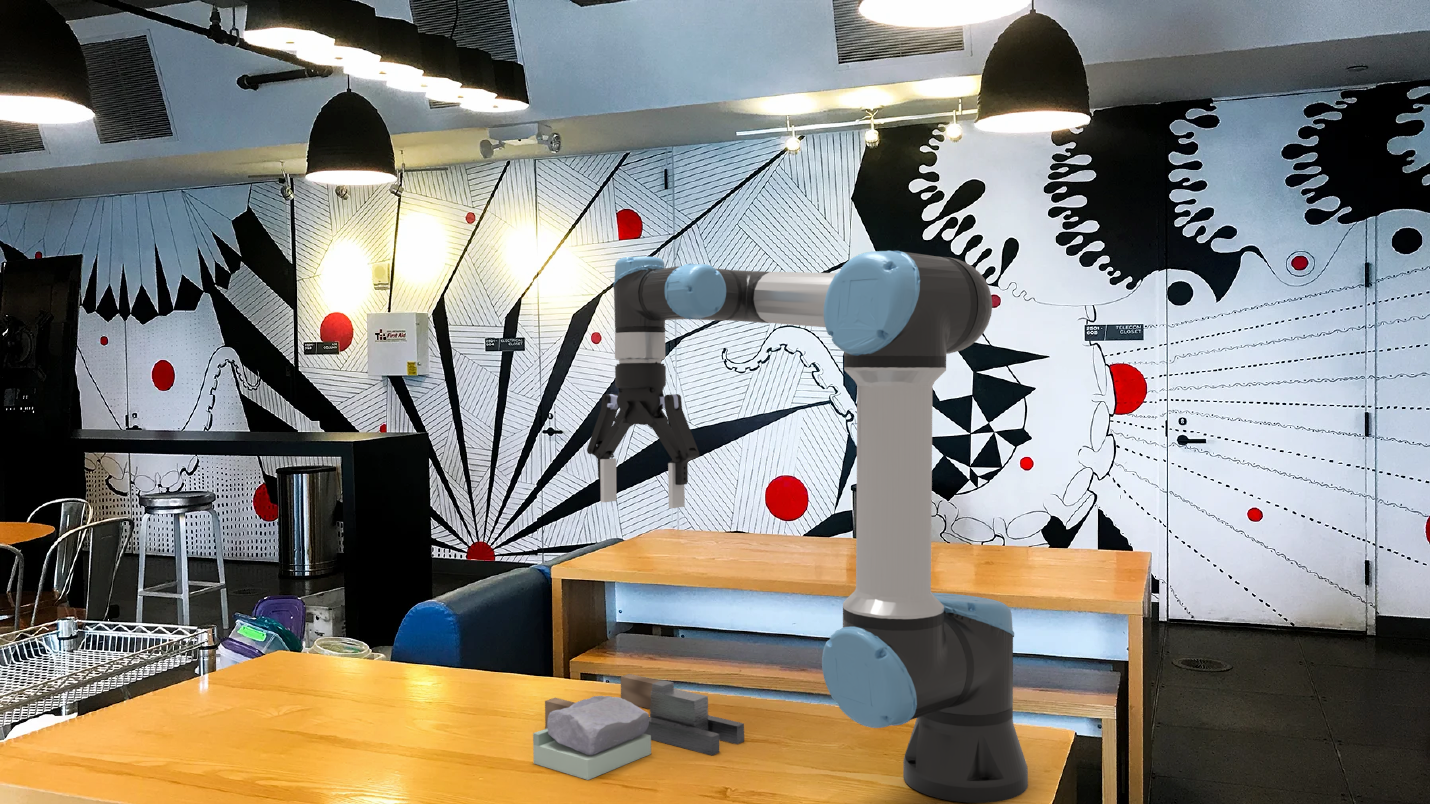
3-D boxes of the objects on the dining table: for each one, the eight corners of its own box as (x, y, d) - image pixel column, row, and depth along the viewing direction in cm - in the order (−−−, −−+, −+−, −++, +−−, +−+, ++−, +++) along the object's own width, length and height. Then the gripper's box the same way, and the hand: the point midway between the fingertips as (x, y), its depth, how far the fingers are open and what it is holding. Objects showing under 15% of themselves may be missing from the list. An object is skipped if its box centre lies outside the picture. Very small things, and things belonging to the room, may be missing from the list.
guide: (744, 741, 153) (744, 723, 153) (712, 755, 147) (712, 736, 147) (657, 719, 163) (657, 703, 163) (624, 732, 157) (623, 715, 157)
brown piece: (673, 709, 168) (672, 683, 168) (589, 740, 154) (589, 712, 154) (629, 699, 173) (629, 673, 173) (545, 728, 159) (545, 700, 159)
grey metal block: (708, 738, 154) (707, 688, 154) (694, 744, 152) (694, 693, 152) (664, 727, 159) (664, 679, 159) (651, 733, 157) (650, 684, 157)
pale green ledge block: (651, 753, 148) (650, 724, 148) (587, 780, 139) (587, 748, 139) (597, 739, 154) (597, 710, 154) (533, 763, 145) (533, 733, 145)
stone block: (537, 746, 144) (593, 758, 139) (537, 709, 145) (593, 720, 139) (599, 725, 154) (654, 736, 148) (599, 691, 154) (654, 701, 148)
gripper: (722, 360, 159) (723, 507, 159) (597, 363, 174) (599, 496, 175) (689, 360, 153) (690, 512, 154) (563, 363, 168) (564, 501, 169)
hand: (641, 504), depth 164 cm, fingers open, 13 cm apart
